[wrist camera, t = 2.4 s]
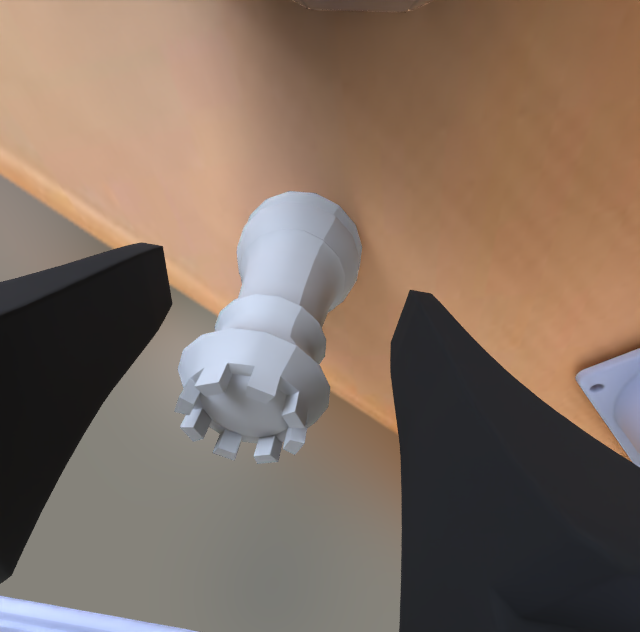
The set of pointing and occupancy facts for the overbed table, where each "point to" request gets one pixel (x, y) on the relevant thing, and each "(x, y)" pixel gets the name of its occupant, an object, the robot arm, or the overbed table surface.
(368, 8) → the bowl
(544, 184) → the overbed table surface
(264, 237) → the rook chess piece
